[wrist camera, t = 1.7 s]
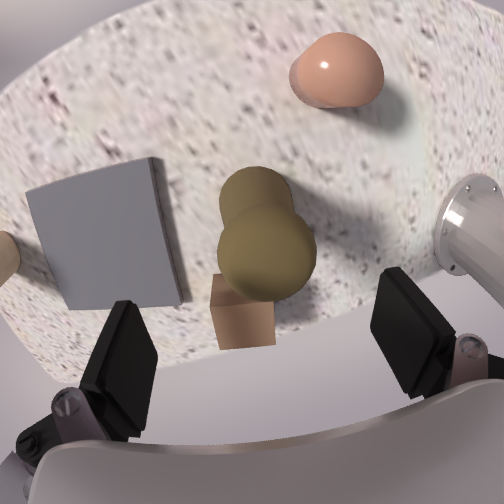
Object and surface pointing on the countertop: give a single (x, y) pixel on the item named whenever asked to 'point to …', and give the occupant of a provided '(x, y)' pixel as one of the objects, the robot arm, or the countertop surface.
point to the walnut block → (240, 318)
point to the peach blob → (337, 72)
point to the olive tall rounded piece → (263, 237)
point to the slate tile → (106, 237)
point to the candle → (8, 257)
